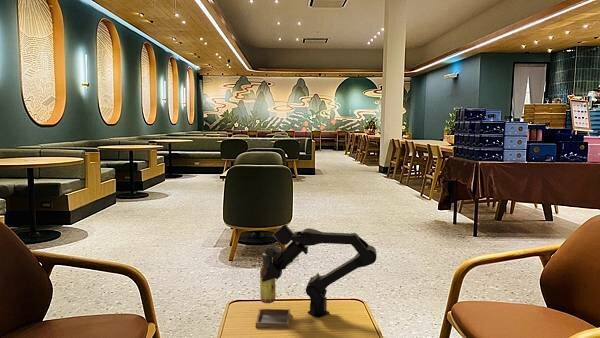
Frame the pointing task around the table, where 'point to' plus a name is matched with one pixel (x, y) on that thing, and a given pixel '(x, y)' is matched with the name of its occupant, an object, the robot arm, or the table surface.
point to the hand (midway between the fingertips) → (264, 278)
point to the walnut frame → (273, 318)
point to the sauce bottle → (266, 282)
